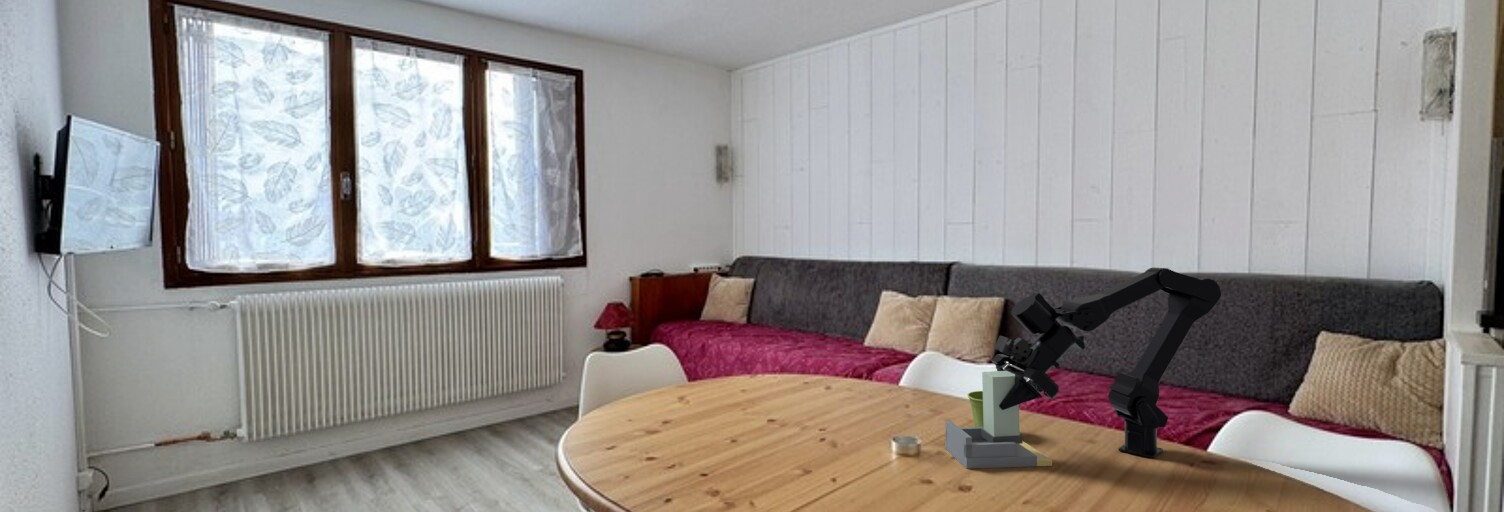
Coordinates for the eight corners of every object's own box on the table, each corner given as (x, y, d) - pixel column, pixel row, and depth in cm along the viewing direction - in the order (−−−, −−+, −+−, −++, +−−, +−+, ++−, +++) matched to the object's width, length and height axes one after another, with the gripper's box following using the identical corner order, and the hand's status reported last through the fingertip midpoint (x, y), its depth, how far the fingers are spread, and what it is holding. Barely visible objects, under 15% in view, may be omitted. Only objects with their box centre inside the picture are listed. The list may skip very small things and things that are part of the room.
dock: (1023, 446, 137) (1023, 418, 137) (1052, 465, 125) (1051, 435, 125) (945, 448, 137) (945, 420, 136) (966, 468, 125) (966, 438, 124)
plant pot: (1015, 440, 141) (1014, 401, 141) (970, 438, 143) (970, 400, 143) (1007, 428, 150) (1006, 391, 150) (965, 426, 152) (964, 390, 152)
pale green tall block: (1009, 434, 134) (1007, 370, 134) (1022, 443, 128) (1021, 376, 128) (981, 435, 134) (979, 371, 133) (993, 444, 128) (991, 377, 127)
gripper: (1000, 316, 140) (950, 368, 140) (1042, 328, 121) (985, 388, 121) (1035, 351, 140) (986, 403, 140) (1083, 369, 122) (1027, 428, 121)
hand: (994, 404), depth 131 cm, fingers closed on pale green tall block, 5 cm apart
